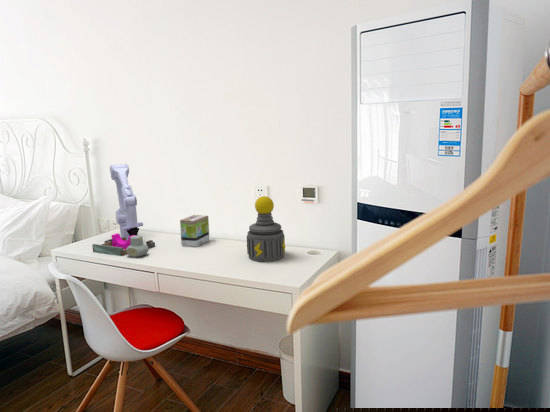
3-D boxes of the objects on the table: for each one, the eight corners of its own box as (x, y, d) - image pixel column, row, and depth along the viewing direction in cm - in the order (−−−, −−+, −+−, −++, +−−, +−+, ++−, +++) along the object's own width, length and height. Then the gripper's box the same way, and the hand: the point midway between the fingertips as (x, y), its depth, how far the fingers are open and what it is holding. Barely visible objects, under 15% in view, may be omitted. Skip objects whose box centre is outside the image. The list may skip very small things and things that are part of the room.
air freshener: (124, 257, 218) (122, 238, 216) (134, 252, 225) (133, 234, 224) (141, 258, 214) (139, 239, 212) (151, 254, 221) (150, 235, 220)
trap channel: (120, 240, 251) (119, 233, 250) (158, 245, 238) (158, 238, 237) (87, 250, 231) (87, 243, 230) (127, 256, 218) (127, 249, 217)
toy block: (141, 247, 235) (140, 234, 233) (133, 250, 229) (132, 237, 228) (121, 245, 241) (120, 232, 240) (113, 248, 236) (111, 235, 234)
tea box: (197, 247, 231) (195, 220, 228) (181, 246, 234) (179, 219, 231) (210, 240, 245) (208, 214, 242) (194, 239, 248) (192, 214, 245)
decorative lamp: (277, 263, 199) (275, 200, 193) (240, 260, 205) (237, 199, 200) (290, 252, 216) (288, 193, 210) (256, 249, 222) (253, 192, 217)
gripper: (127, 220, 230) (129, 245, 233) (146, 215, 243) (148, 238, 245) (117, 219, 233) (120, 243, 236) (137, 214, 246) (139, 237, 249)
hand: (133, 241), depth 241 cm, fingers closed
